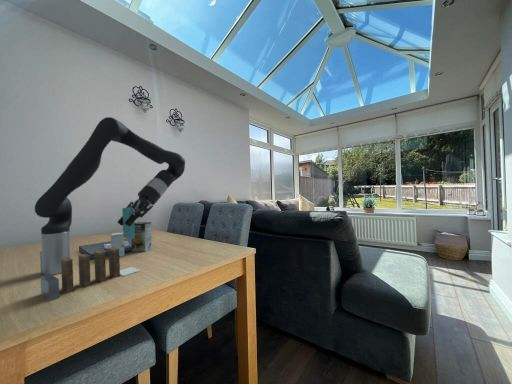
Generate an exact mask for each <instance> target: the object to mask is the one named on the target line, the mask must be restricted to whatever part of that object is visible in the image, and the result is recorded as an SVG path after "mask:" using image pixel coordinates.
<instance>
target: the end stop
mask: <svg viewBox="0 0 512 384" xmlns="http://www.w3.org/2000/svg"><path fill="white" fill-rule="evenodd" d="M40 294H41V296H43V297H44V298H45V299H46V300H48V301H53V300H57V299H59V298H60V279H59V278H58V277H56V276H54V274H53V275H51V274H49V275H42V276H40Z"/></svg>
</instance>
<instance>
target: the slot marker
mask: <svg viewBox="0 0 512 384" xmlns="http://www.w3.org/2000/svg"><path fill="white" fill-rule="evenodd" d="M141 271H142V270H141V269H139V268H135V267H132V266H129V267H126V268H123V269H120V277H126V276H129V275H132V274H135V273H138V272H141Z"/></svg>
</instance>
